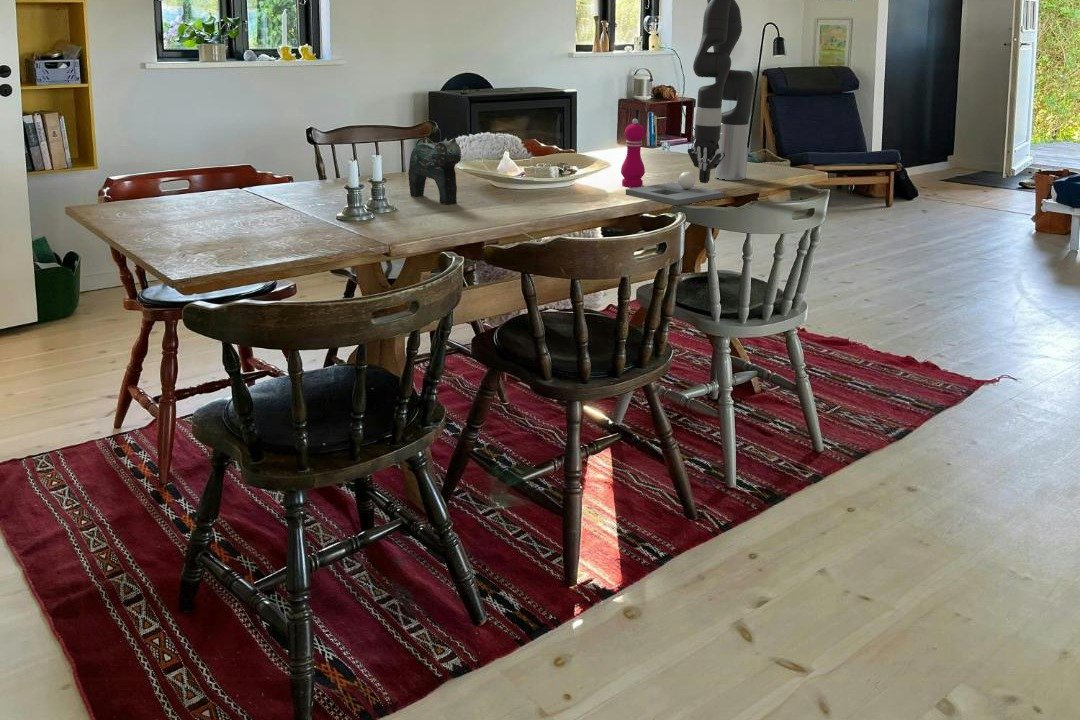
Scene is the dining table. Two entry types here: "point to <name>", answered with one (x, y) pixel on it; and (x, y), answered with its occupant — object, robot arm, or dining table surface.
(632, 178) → the pepper mill
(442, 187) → the ceramic cat
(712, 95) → the robot arm
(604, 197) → the dining table surface
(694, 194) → the plate
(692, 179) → the ball
